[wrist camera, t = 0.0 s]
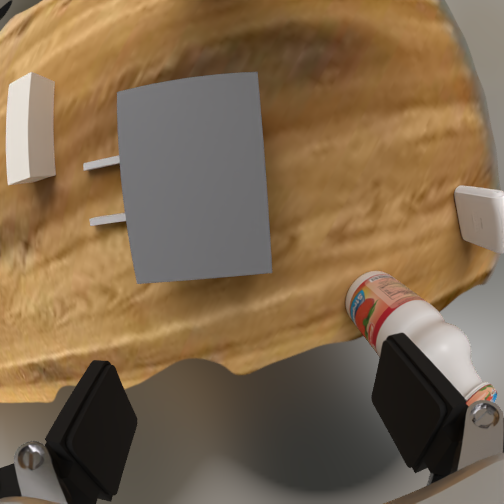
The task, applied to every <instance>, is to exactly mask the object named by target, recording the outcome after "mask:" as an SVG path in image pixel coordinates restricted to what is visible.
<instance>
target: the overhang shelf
mask: <svg viewBox="0 0 504 504" xmlns="http://www.w3.org/2000/svg"><path fill="white" fill-rule="evenodd" d="M117 120H118V144H119V156H114V157H110V158H105V159H101V160H96V161H92V162H88V163H84V164H83V166H84V170H93V169H97V168H102V167H106V166H111V165H116V164H120V171H121V182H122V192H123V200H124V208H125V213H119V214H113V215H106V216H100V217H94V218H91V219H90V226H93V225H100V224H107V223H114V222H121V221H126V223H127V230H128V236H129V242H130V248H131V254H132V260H133V265H134V270H135V275H136V280H137V284H142V283H157V282H170V281H184V280H196V279H209V278H220V277H232V276H243V275H254V274H265V273H272V259H271V243H270V227H269V212H268V197H267V183H266V169H265V156H264V143H263V131H262V119H261V107H260V95H259V84H258V73H257V72H243V73H228V74H217V75H207V76H199V77H191V78H184V79H178V80H172V81H166V82H160V83H155V84H150V85H145V86H141V87H136V88H132V89H128V90H124V91H120V92H117Z"/></svg>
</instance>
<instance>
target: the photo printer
mask: <svg viewBox="0 0 504 504" xmlns="http://www.w3.org/2000/svg"><path fill="white" fill-rule="evenodd" d="M454 197H455V203H456V208H457V213H458V219H459V224H460V229H461V234H462V238H463V240H465V241H468V242H470V243H473V244H476V245H478V246H481V247H484V248H486V249H489V250H491V251H494V252H497V253H504V191H500V190H493V189H486V188H479V187H471V186H458V187H457V188H456V190H455V192H454Z"/></svg>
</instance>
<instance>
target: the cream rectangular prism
mask: <svg viewBox="0 0 504 504" xmlns="http://www.w3.org/2000/svg"><path fill="white" fill-rule="evenodd" d="M54 87H55V82H54V81H52V80H50V79H47V78H45V77H43V76H40V75H38V74H36V73H33V72H30V73H29V74H27V75H25V76H23V77H21V78H19V79H18V80H16V81H14V82H13V83H11V84H9V92H8V103H7V118H6V163H7V179H8V185H14V184H21V183H30V182H36V181H39V180H42V179H45V178H48V177H52V176H55V175H56V172H55V158H54V133H53V111H54Z"/></svg>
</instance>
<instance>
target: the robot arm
mask: <svg viewBox="0 0 504 504" xmlns="http://www.w3.org/2000/svg"><path fill="white" fill-rule="evenodd" d="M372 402H373V405H374V406H375V408H376V410H377V412H378V413H379V415H380V417H381V419H382V420H383V422H384V424H385V426H386V428H387V429H388V432H389V433H390V435H391V437H392V439H393V441H394V443H395V444H396V446H397V448H398V450H399V452H400V454H401V456H402V457H403V459H404V461H405V463H406V465H407V466H408V467H409V468H411V467H412V468H413V470H414V472H415V473H417V472H419V471H421V470H423V469H426V468H428V469H429V471H430V476H429V480H428V483H427V486H426V487H424V488H421V489H419V490H417V491H414V492H412V493H410V494H408V495H405V496H402V497H400V498H397V499H395V500H392V501H389V502H387V503H384V504H504V418H503V412H502V411H501V409H500V407H499V406H498V405H497V404H495V403H493V402H491V401H488V400H479V401H475V402H474V403H472V404H471V405H470V406H468V405H467V404H466V402H467V400H466V399H465V398H464V397H463V396H462V395H461V393H460V392H459V391H458V390H457V389H456V388H455V387H454V386H453V385H452V383H451V382H450V381H449V380H448V379H447V378H446V377H445V376H444V375H443V374H442V372H441V371H440V370H439V369H438V368H437V367H436V366H435V365H434V364H433V363H432V362H431V361H430V359H429V358H428V357H427V356H426V355H425V354H424V353H423V352H422V351H421V350H420V349H419V348H418V347H417V346H416V345H415V344H414V343H413V342H412V341H411V340H410V338H409V337H408V336H407V335H406V334H404V333H398V334H393V335H389V336H388V337H387V338H386V340H385V341H383V343H382V348H381V354H380V359H379V364H378V369H377V374H376V379H375V383H374V387H373V392H372ZM136 427H137V417H136V415H135V413H134V411H133V408H132V406H131V404H130V402H129V400H128V397H127V395H126V393H125V390H124V388H123V386H122V383H121V381H120V378H119V376H118V373H117V371H116V368H115V367H114V366H113V365H111V364H110V362H109V361H98V360H94V361H92V362H91V364H90V365H89V367H88V368H87V370H86V372H85V373H84V375H83V376H82V378H81V379H80V381H79V383H78V384H77V386H76V387H75V389H74V391H73V392H72V394H71V396H70V397H69V399H68V400H67V402H66V404H65V405H64V407H63V409H62V410H61V412H60V414H59V415H58V417H57V419H56V421H55V422H54V424H53V426H52V428H51V429H50V431H49V433H48V435H47V436H46V438H45V440H46V441H47V443H46V444H45V446H44V445H43V444H42V443H40V442H37V441H30V442H26V443H25V444H22V445H21V446H20V447H19V448H18V449H17V451H16V453H15V456H14V464H11V465H8V466H5V467H2V468H0V504H96V501H97V498H99V499H102V500H107V501H111V500H112V496H113V495H116V494H117V491H118V488H119V484H120V481H121V477H122V473H123V470H124V466H125V463H126V460H127V456H128V453H129V449H130V446H131V443H132V440H133V436H134V433H135V430H136Z"/></svg>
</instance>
